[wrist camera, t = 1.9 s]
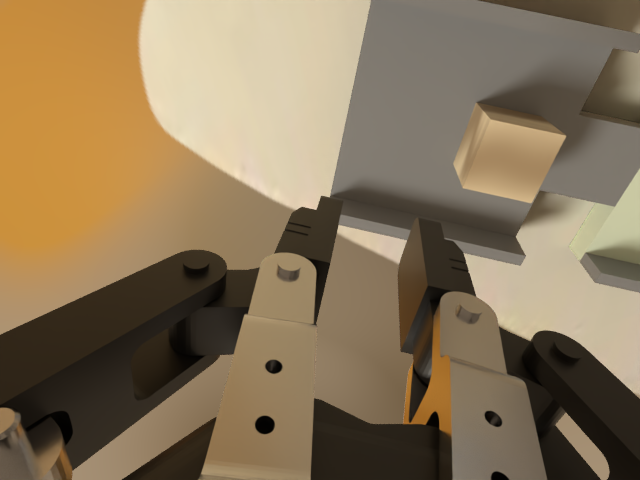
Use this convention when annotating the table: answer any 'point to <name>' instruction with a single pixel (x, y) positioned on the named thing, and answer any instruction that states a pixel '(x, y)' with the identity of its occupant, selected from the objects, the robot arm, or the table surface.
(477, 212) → the trap box
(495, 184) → the birch block
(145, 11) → the table surface
